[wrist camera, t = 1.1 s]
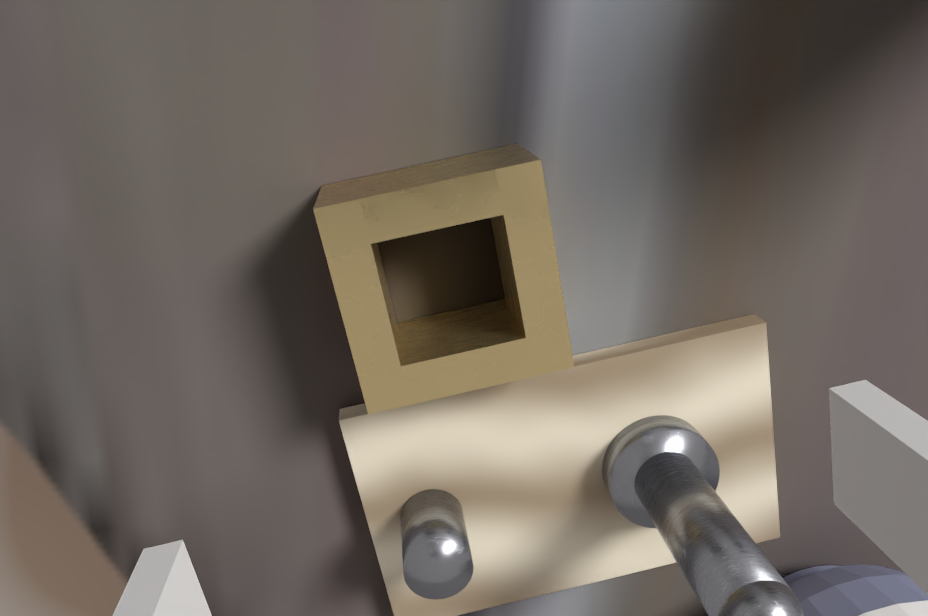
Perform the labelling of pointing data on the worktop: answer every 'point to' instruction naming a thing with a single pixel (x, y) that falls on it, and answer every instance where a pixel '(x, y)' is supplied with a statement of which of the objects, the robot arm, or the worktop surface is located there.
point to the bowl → (857, 591)
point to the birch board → (565, 462)
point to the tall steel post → (693, 517)
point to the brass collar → (459, 331)
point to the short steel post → (435, 545)
